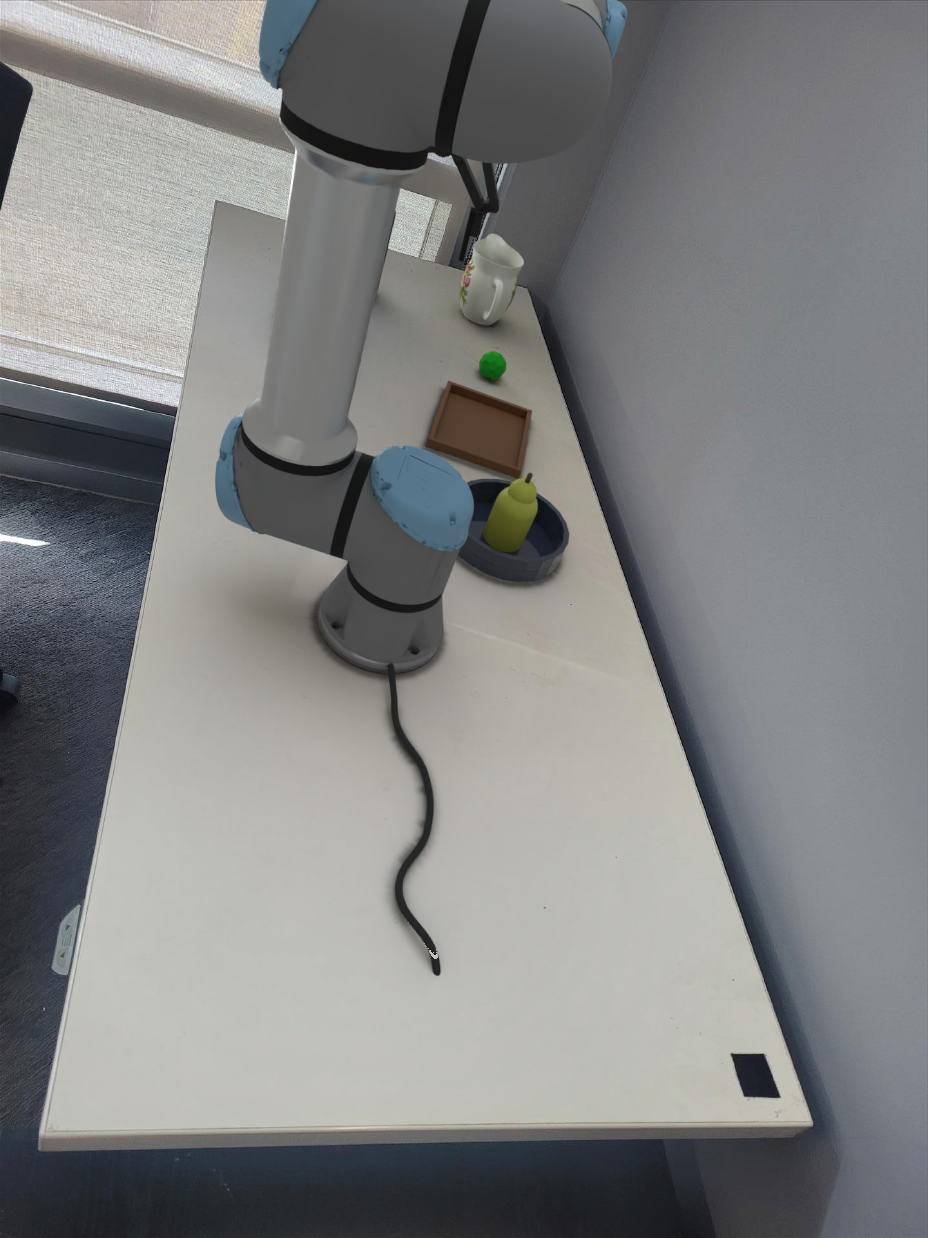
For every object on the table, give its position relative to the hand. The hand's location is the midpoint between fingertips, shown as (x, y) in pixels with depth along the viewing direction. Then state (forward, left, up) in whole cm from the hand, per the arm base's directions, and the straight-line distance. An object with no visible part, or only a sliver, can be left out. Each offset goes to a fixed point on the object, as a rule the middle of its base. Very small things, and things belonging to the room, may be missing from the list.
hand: (414, 244), depth 116 cm
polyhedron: (+22, -17, -27) cm, 39 cm away
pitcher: (+44, -12, -27) cm, 53 cm away
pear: (-24, -25, -26) cm, 43 cm away
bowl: (-24, -25, -27) cm, 43 cm away
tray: (+2, -18, -27) cm, 32 cm away
